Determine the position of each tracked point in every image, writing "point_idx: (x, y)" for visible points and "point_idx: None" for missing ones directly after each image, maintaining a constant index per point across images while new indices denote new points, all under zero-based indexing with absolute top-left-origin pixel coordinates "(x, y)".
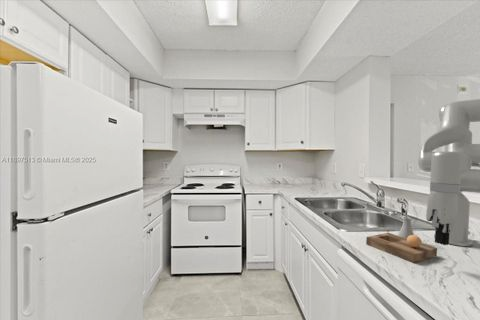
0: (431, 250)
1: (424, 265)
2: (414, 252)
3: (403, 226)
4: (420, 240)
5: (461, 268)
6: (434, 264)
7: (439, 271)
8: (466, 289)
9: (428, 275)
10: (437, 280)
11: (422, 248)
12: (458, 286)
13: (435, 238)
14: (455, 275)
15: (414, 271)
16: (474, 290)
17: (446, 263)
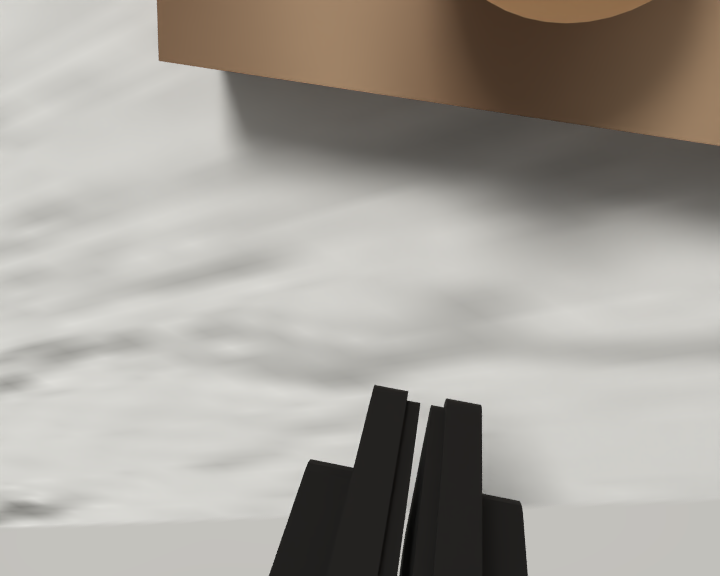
0: (702, 138)
1: (279, 149)
2: (252, 20)
3: None
4: (572, 10)
5: (588, 414)
6: (434, 210)
7: (269, 297)
8: (121, 484)
9: (64, 259)
10: (49, 332)
11: (634, 12)
12: (113, 447)
13: (361, 439)
14: (318, 404)
15: (6, 144)
16: (162, 517)
17: (616, 288)
